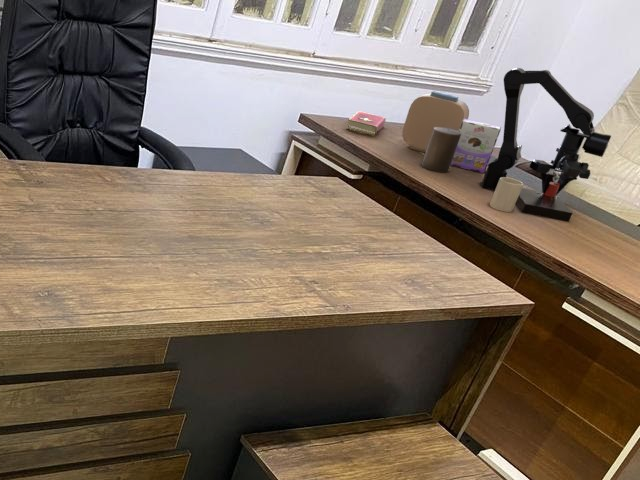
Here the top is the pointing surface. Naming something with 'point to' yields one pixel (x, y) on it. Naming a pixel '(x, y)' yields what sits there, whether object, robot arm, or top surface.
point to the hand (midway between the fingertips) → (549, 193)
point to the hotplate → (542, 205)
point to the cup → (506, 194)
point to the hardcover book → (366, 122)
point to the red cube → (552, 189)
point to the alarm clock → (432, 118)
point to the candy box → (475, 145)
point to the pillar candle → (441, 149)
